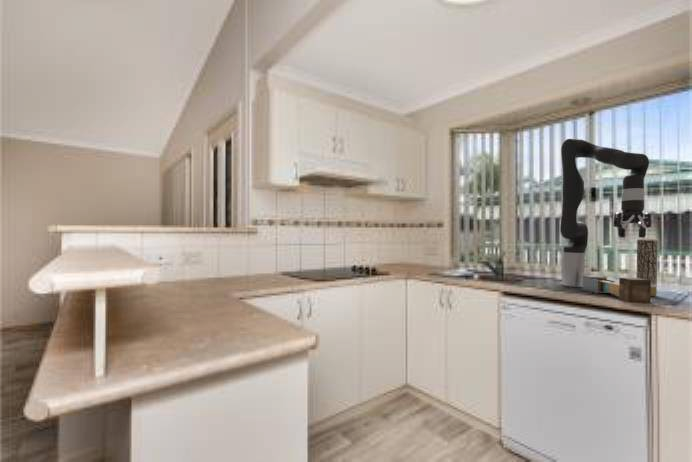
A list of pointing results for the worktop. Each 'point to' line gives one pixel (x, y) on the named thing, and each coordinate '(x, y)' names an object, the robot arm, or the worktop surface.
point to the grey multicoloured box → (593, 283)
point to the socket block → (634, 289)
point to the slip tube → (609, 287)
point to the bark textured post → (647, 262)
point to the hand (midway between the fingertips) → (631, 237)
